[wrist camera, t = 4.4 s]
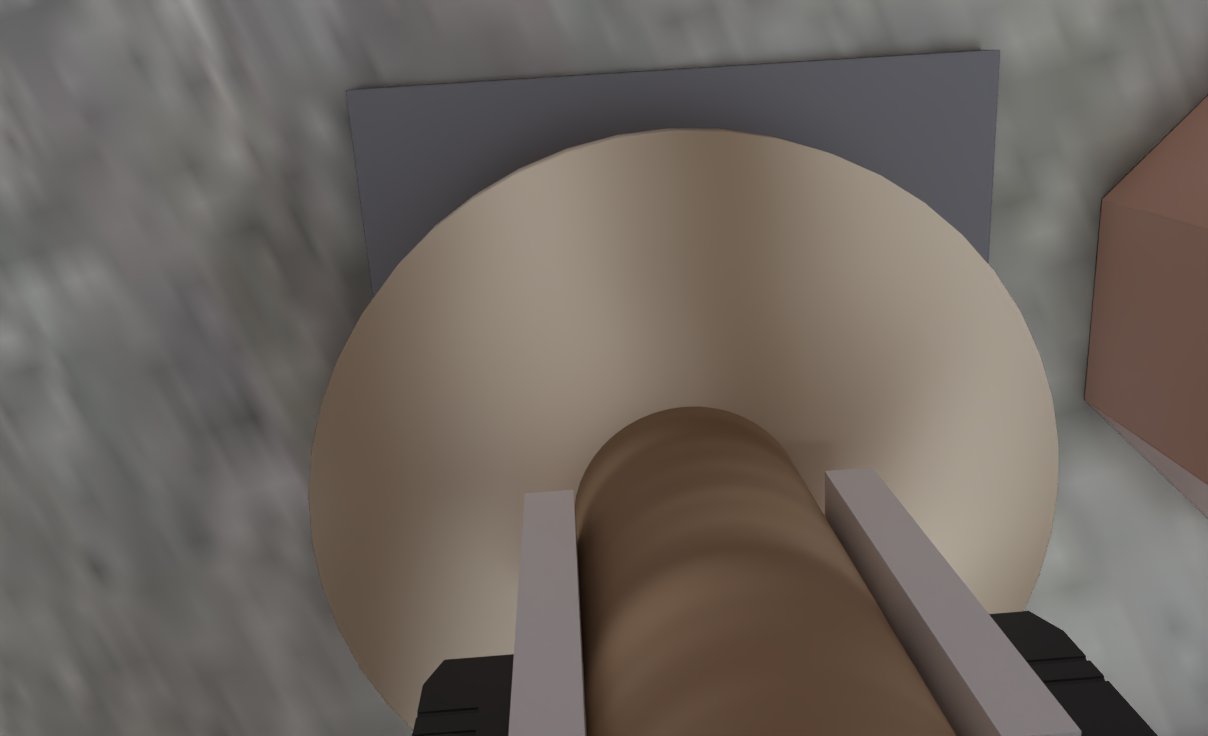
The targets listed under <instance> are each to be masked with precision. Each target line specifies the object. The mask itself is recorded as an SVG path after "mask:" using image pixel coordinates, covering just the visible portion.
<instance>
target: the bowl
mask: <svg viewBox="0 0 1208 736" xmlns="http://www.w3.org/2000/svg"><path fill="white" fill-rule="evenodd" d="M1084 400H1085V401H1086V402H1087V403H1088V404H1089V405H1091V406H1092V407H1093V408H1094V409H1095V410H1096V411H1097V412H1098V413H1099V414H1100V415H1101V416H1102V417H1103V418H1104V419H1105V420H1106V421H1107V422H1108V423H1109V424H1110V425H1111V426H1112V427H1113V428H1114V429H1115V430H1116V431H1117V432H1119V433H1120V434H1121V435H1122V436H1123V437H1124V438H1125V439H1126V440H1127V441H1128V442H1129V443H1130V444H1131V445H1132V446H1133V447H1134V448H1135V449H1136V450H1137V451H1138V452H1139V453H1140V454H1141V455H1142V456H1143V457H1144V458H1146V459H1147V460H1148V461H1149V462H1150V463H1151V464H1152V465H1153V466H1154V467H1155V468H1156V469H1157V470H1158V471H1159V472H1160V473H1161V474H1162V475H1163V476H1164V477H1165V478H1166V479H1167V480H1168V481H1169V482H1170V483H1171V484H1173V485H1174V486H1175V487H1176V488H1177V489H1178V490H1179V491H1180V492H1181V493H1182V494H1183V495H1184V496H1185V497H1186V498H1187V499H1188V500H1189V501H1190V502H1191V503H1192V504H1193V505H1194V506H1195V507H1196V508H1197V509H1198V510H1199V511H1201V512H1202V513H1203V514H1204V515H1205V516H1206V517H1207V518H1208V96H1207V97H1206V98H1205V99H1204V100H1203V101H1202V102H1201V103H1200V104H1199V105H1198V106H1197V107H1196V108H1195V109H1194V110H1193V111H1192V112H1191V113H1190V114H1189V115H1188V116H1187V117H1186V118H1185V119H1183V120H1182V121H1181V122H1180V123H1179V124H1178V125H1177V126H1176V127H1175V128H1174V129H1173V130H1172V131H1171V132H1170V133H1169V134H1168V135H1167V136H1166V137H1165V138H1164V139H1163V140H1162V141H1161V142H1160V143H1159V144H1158V145H1157V146H1156V147H1155V148H1154V149H1153V150H1152V151H1151V152H1150V153H1149V154H1148V155H1147V156H1146V157H1145V158H1144V159H1143V160H1142V161H1141V162H1140V163H1139V164H1138V165H1137V166H1136V167H1135V168H1134V169H1133V170H1132V171H1131V172H1130V173H1129V174H1128V175H1126V176H1125V177H1124V178H1123V179H1122V180H1121V181H1120V182H1119V183H1118V184H1117V185H1116V186H1115V187H1114V188H1113V189H1112V190H1111V191H1110V192H1109V193H1108V194H1107V195H1106V196H1105V197H1104V198H1103V199H1102V208H1101V219H1100V230H1099V242H1098V253H1097V264H1096V276H1095V287H1094V298H1093V310H1092V321H1091V332H1090V344H1089V355H1088V366H1087V378H1086V389H1085V399H1084Z"/></svg>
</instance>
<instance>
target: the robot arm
mask: <svg viewBox="0 0 1208 736" xmlns="http://www.w3.org/2000/svg"><path fill="white" fill-rule="evenodd" d="M825 517H826V519H827V521H828V522H829V524H830V526H831V527H832V529H833V531H834V532H835V534H836V536H837V537H838V539H839V541H840V542H841V544H842V546H843V547H844V549H845V551H846V552H847V554H848V556H849V557H850V559H851V561H852V562H853V564H854V566H855V567H856V569H857V571H858V572H859V574H860V576H861V577H862V579H863V581H864V582H865V584H866V586H867V587H868V589H869V591H870V592H871V594H872V596H873V597H874V599H875V601H876V602H877V604H878V606H879V607H880V609H881V611H882V612H883V614H884V616H885V617H886V619H887V621H888V622H889V624H890V626H891V627H892V629H893V630H894V632H895V634H896V635H897V637H898V639H899V640H900V642H901V644H902V645H903V647H904V649H905V650H906V652H907V654H908V655H909V657H910V659H911V660H912V662H913V664H914V665H915V667H916V669H917V670H918V672H919V674H920V675H921V677H922V679H923V680H924V682H925V684H926V685H927V687H928V689H929V690H930V692H931V694H932V695H933V697H934V699H935V700H936V702H937V704H938V705H939V707H940V709H941V710H942V712H943V714H944V715H945V717H946V719H947V720H948V722H949V724H950V725H951V727H952V729H953V730H954V732H955V734H956V735H957V736H1157V734H1156V733H1155V732H1154V731H1153V730H1152V729H1151V728H1150V727H1149V726H1148V724H1147V723H1146V722H1145V721H1144V720H1143V719H1142V718H1141V717H1140V716H1139V714H1138V713H1137V712H1136V711H1135V710H1134V709H1133V708H1132V707H1131V706H1130V704H1129V703H1128V702H1127V701H1126V700H1125V699H1124V698H1123V697H1122V696H1121V694H1120V693H1119V692H1118V691H1117V690H1116V689H1115V688H1114V687H1113V686H1112V684H1111V683H1110V682H1109V681H1105V680H1104V676H1103V674H1102V673H1101V672H1100V671H1099V670H1098V669H1097V668H1096V667H1095V666H1094V664H1093V663H1092V662H1091V661H1087V660H1086V656H1085V654H1084V653H1083V652H1082V651H1081V650H1080V649H1079V648H1078V647H1077V646H1076V644H1075V643H1074V642H1073V641H1072V640H1071V639H1070V638H1069V637H1068V636H1067V634H1066V633H1065V632H1064V631H1063V630H1061V629H1059V628H1057V627H1056V626H1054V625H1052V624H1050V623H1049V622H1047V621H1045V620H1043V619H1042V618H1040V617H1038V616H1036V615H1035V614H1033V613H1031V612H1030V611H1021V612H1008V613H996V614H988V612H987V611H986V610H985V609H984V607H983V606H982V605H981V604H980V602H979V601H978V600H977V599H976V597H975V596H974V595H973V594H972V592H971V591H970V590H969V588H968V587H967V586H966V585H965V583H964V582H963V581H962V580H961V578H960V577H959V576H958V575H957V573H956V572H955V571H954V570H953V568H952V567H951V566H950V564H949V563H948V562H947V561H946V559H945V558H944V557H943V556H942V554H941V553H940V552H939V551H938V549H937V548H936V547H935V546H934V544H933V543H932V542H931V540H930V539H929V538H928V537H927V535H926V534H925V533H924V532H923V530H922V529H921V528H920V527H919V525H918V524H917V523H916V522H915V520H914V519H913V518H912V516H911V515H910V514H909V513H908V511H907V510H906V509H905V508H904V506H903V505H902V504H901V503H900V501H899V500H898V499H897V498H896V496H895V495H894V494H893V492H892V491H891V490H890V489H889V487H888V486H887V485H886V484H885V482H884V481H883V480H882V479H881V477H880V476H879V475H878V474H877V472H876V471H875V470H874V468H860V469H847V470H833V471H825ZM412 736H587V726H586V706H585V686H584V666H583V646H582V626H581V606H580V586H579V566H578V546H577V532H576V518H575V505H574V491H573V490H564V491H550V492H537V493H525V496H524V511H523V526H522V541H521V555H520V570H519V585H518V600H517V615H516V630H515V644H514V654H510V655H498V656H485V657H472V658H459V659H447V660H444V661H443V662H442V663H441V664H440V665H439V666H438V668H437V669H436V670H435V671H434V672H433V673H432V675H431V676H430V677H429V678H428V679H427V681H426V682H425V683H424V684H423V687H422V692H421V696H420V701H419V706H418V711H417V718H416V720H415V725H414V730H413V734H412Z"/></svg>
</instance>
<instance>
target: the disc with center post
mask: <svg viewBox="0 0 1208 736" xmlns="http://www.w3.org/2000/svg"><path fill="white" fill-rule="evenodd" d="M860 468H874V470H875V471H876V472H877V474H878V475H879V476H880V477H881V479H882V480H883V481H884V482H885V484H886V485H887V486H888V487H889V489H890V490H891V491H892V492H893V494H894V495H895V496H896V498H897V499H898V500H899V501H900V503H901V504H902V505H903V506H904V508H905V509H906V510H907V511H908V513H909V514H910V515H911V516H912V518H913V519H914V520H915V522H916V523H917V524H918V525H919V527H920V528H921V529H922V530H923V532H924V533H925V534H926V535H927V537H928V538H929V539H930V540H931V542H932V543H933V544H934V546H935V547H936V548H937V549H938V551H939V552H940V553H941V554H942V556H943V557H944V558H945V559H946V561H947V562H948V563H949V564H950V566H951V567H952V568H953V570H954V571H955V572H956V573H957V575H958V576H959V577H960V578H961V580H962V581H963V582H964V583H965V585H966V586H967V587H968V588H969V590H970V591H971V592H972V594H973V595H974V596H975V597H976V599H977V600H978V601H979V602H980V604H981V605H982V606H983V607H984V609H985V610H986V611H987V612H988V614H996V613H1008V612H1021V611H1024V609H1025V607H1026V605H1027V603H1028V600H1029V598H1030V596H1031V593H1032V591H1033V589H1034V586H1035V584H1036V582H1037V579H1038V577H1039V575H1040V571H1041V568H1042V564H1043V561H1044V557H1045V554H1046V550H1047V547H1048V543H1049V540H1050V536H1051V533H1052V527H1053V520H1054V513H1055V506H1056V499H1057V493H1058V436H1057V429H1056V421H1055V414H1054V407H1053V399H1052V395H1051V392H1050V388H1049V385H1048V381H1047V378H1046V374H1045V371H1044V367H1043V364H1042V360H1041V357H1040V354H1039V351H1038V349H1037V347H1036V345H1035V343H1034V340H1033V338H1032V336H1031V334H1030V332H1029V329H1028V327H1027V325H1026V323H1025V320H1024V318H1023V316H1022V314H1021V312H1020V310H1019V308H1018V307H1017V305H1016V304H1015V302H1014V301H1013V299H1012V298H1011V296H1010V295H1009V293H1008V291H1007V290H1006V288H1005V287H1004V285H1003V284H1002V282H1001V281H1000V279H999V278H998V276H997V274H996V273H995V271H994V270H993V269H992V268H991V267H990V266H989V265H988V263H987V262H986V261H985V260H984V259H983V258H982V257H981V255H980V254H979V253H978V252H977V251H976V250H975V249H974V247H973V246H972V245H971V244H970V243H969V242H968V241H967V239H966V238H965V237H964V236H963V235H962V234H961V233H960V232H959V231H957V230H956V229H955V228H954V227H953V226H951V225H950V224H949V223H948V222H947V221H946V220H944V219H943V218H942V217H941V216H940V215H938V214H937V213H936V212H935V211H934V210H933V209H931V208H930V207H929V206H928V205H927V204H926V203H924V202H923V201H921V200H920V199H918V198H916V197H915V196H913V195H912V194H910V193H908V192H907V191H905V190H904V189H902V188H900V187H899V186H897V185H896V184H894V183H892V182H891V181H889V180H888V179H886V178H884V177H883V176H881V175H879V174H877V173H874V172H872V171H870V170H868V169H865V168H863V167H861V166H859V165H856V164H854V163H852V162H850V161H847V160H845V159H843V158H841V157H838V156H836V155H834V154H831V153H828V152H824V151H821V150H818V149H815V148H811V147H808V146H804V145H801V144H797V143H794V142H790V141H787V140H783V139H780V138H776V137H773V136H768V135H761V134H754V133H747V132H740V131H733V130H726V129H700V128H667V129H659V130H652V131H644V132H636V133H629V134H621V135H615V136H611V137H608V138H604V139H600V140H597V141H593V142H589V143H585V144H582V145H578V146H574V147H571V148H567V149H564V150H562V151H560V152H557V153H555V154H553V155H550V156H548V157H545V158H543V159H541V160H538V161H536V162H533V163H531V164H529V165H526V166H524V167H522V168H519V169H517V170H516V171H514V172H512V173H511V174H509V175H507V176H506V177H504V178H502V179H500V180H499V181H497V182H495V183H494V184H492V185H490V186H489V187H487V188H485V189H483V190H482V191H480V192H478V193H477V194H475V195H474V196H472V197H471V198H470V199H469V200H467V201H466V202H465V203H463V204H462V205H461V206H460V207H458V208H457V209H456V210H455V211H453V212H452V213H451V214H449V215H448V216H447V217H446V218H444V219H443V220H442V221H441V222H439V223H438V224H437V225H435V226H434V228H433V229H432V230H431V231H430V232H429V233H428V234H427V235H426V236H425V237H424V238H423V239H422V240H421V241H420V242H419V243H418V244H417V245H416V246H415V247H414V248H413V249H412V250H411V251H410V252H409V253H408V254H407V255H406V256H405V257H404V259H403V260H402V261H401V262H400V263H399V264H398V266H397V267H396V268H395V269H394V271H393V272H392V273H391V275H390V276H389V277H388V279H387V280H386V282H385V283H384V284H383V286H382V287H381V288H380V290H379V291H378V293H377V294H376V295H375V297H374V298H373V299H372V301H371V302H370V303H369V305H368V306H367V308H366V309H365V310H364V312H363V313H362V314H361V316H360V318H359V320H358V322H357V324H356V326H355V327H354V329H353V331H352V333H351V335H350V337H349V339H348V341H347V342H346V344H345V346H344V348H343V350H342V352H341V354H340V356H339V357H338V360H337V362H336V365H335V368H334V371H333V373H332V376H331V379H330V382H329V384H328V387H327V390H326V393H325V395H324V398H323V401H322V404H321V408H320V412H319V417H318V422H317V427H316V432H315V436H314V441H313V446H312V451H311V466H310V482H309V510H310V522H311V534H312V544H313V549H314V553H315V557H316V562H317V566H318V570H319V575H320V579H321V583H322V588H323V590H324V593H325V595H326V598H327V601H328V603H329V606H330V608H331V611H332V614H333V616H334V619H335V621H336V624H337V626H338V629H339V631H340V633H341V634H342V636H343V638H344V640H345V642H346V643H347V645H348V647H349V649H350V651H351V652H352V654H353V656H354V658H355V660H356V661H357V663H358V665H359V667H360V668H361V670H362V671H363V672H364V674H365V675H366V676H367V678H368V679H369V680H370V682H371V683H372V684H373V686H374V687H375V688H376V690H377V691H378V692H379V694H380V695H381V696H382V698H383V699H384V700H385V702H386V703H387V704H388V705H389V706H390V707H391V708H392V709H393V710H394V711H395V712H396V713H397V714H398V715H399V716H400V717H401V718H402V719H403V720H404V721H405V722H406V723H407V724H408V725H409V726H410V727H411V728H412V729H413V730H414V725H415V720H416V718H417V711H418V706H419V701H420V696H421V692H422V687H423V684H424V683H425V682H426V681H427V679H428V678H429V677H430V676H431V675H432V673H433V672H434V671H435V670H436V669H437V668H438V666H439V665H440V664H441V663H442V662H443V661H444V660H447V659H459V658H472V657H485V656H498V655H510V654H514V644H515V630H516V615H517V600H518V585H519V570H520V555H521V541H522V526H523V511H524V496H525V493H537V492H550V491H564V490H573V491H574V505H575V518H576V532H577V546H578V566H579V586H580V606H581V626H582V646H583V666H584V686H585V706H586V726H587V736H957V735H956V734H955V732H954V730H953V729H952V727H951V725H950V724H949V722H948V720H947V719H946V717H945V715H944V714H943V712H942V710H941V709H940V707H939V705H938V704H937V702H936V700H935V699H934V697H933V695H932V694H931V692H930V690H929V689H928V687H927V685H926V684H925V682H924V680H923V679H922V677H921V675H920V674H919V672H918V670H917V669H916V667H915V665H914V664H913V662H912V660H911V659H910V657H909V655H908V654H907V652H906V650H905V649H904V647H903V645H902V644H901V642H900V640H899V639H898V637H897V635H896V634H895V632H894V630H893V629H892V627H891V626H890V624H889V622H888V621H887V619H886V617H885V616H884V614H883V612H882V611H881V609H880V607H879V606H878V604H877V602H876V601H875V599H874V597H873V596H872V594H871V592H870V591H869V589H868V587H867V586H866V584H865V582H864V581H863V579H862V577H861V576H860V574H859V572H858V571H857V569H856V567H855V566H854V564H853V562H852V561H851V559H850V557H849V556H848V554H847V552H846V551H845V549H844V547H843V546H842V544H841V542H840V541H839V539H838V537H837V536H836V534H835V532H834V531H833V529H832V527H831V526H830V524H829V522H828V521H827V519H826V517H825V471H833V470H847V469H860Z"/></svg>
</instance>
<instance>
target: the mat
mask: <svg viewBox="0 0 1208 736" xmlns="http://www.w3.org/2000/svg"><path fill="white" fill-rule="evenodd" d="M999 62H1000V50H974V51H958V52H941V53H925V54H909V55H893V56H877V57H861V58H845V59H829V60H813V61H797V62H781V63H764V64H748V65H732V66H716V67H700V68H684V69H668V70H652V71H636V72H620V73H604V74H587V75H571V76H555V77H539V78H523V79H507V80H491V81H475V82H459V83H443V84H427V85H410V86H394V87H378V88H362V89H352V90H346V95H347V103H348V111H349V118H350V126H351V134H352V141H353V149H354V156H355V164H356V172H357V179H358V187H359V195H360V202H361V210H362V218H363V225H364V233H365V240H366V248H367V256H368V263H369V271H370V279H371V286H372V294H373V298H374V297H375V295H376V294H377V293H378V291H379V290H380V288H381V287H382V286H383V284H384V283H385V282H386V280H387V279H388V277H389V276H390V275H391V273H392V272H393V271H394V269H395V268H396V267H397V266H398V264H399V263H400V262H401V261H402V260H403V259H404V257H405V256H406V255H407V254H408V253H409V252H410V251H411V250H412V249H413V248H414V247H415V246H416V245H417V244H418V243H419V242H420V241H421V240H422V239H423V238H424V237H425V236H426V235H427V234H428V233H429V232H430V231H431V230H432V229H433V228H434V226H435V225H437V224H438V223H439V222H441V221H442V220H443V219H444V218H446V217H447V216H448V215H449V214H451V213H452V212H453V211H455V210H456V209H457V208H458V207H460V206H461V205H462V204H463V203H465V202H466V201H467V200H469V199H470V198H471V197H472V196H474V195H475V194H477V193H478V192H480V191H482V190H483V189H485V188H487V187H489V186H490V185H492V184H494V183H495V182H497V181H499V180H500V179H502V178H504V177H506V176H507V175H509V174H511V173H512V172H514V171H516V170H517V169H519V168H522V167H524V166H526V165H529V164H531V163H533V162H536V161H538V160H541V159H543V158H545V157H548V156H550V155H553V154H555V153H557V152H560V151H562V150H564V149H567V148H571V147H574V146H578V145H582V144H585V143H589V142H593V141H597V140H600V139H604V138H608V137H611V136H615V135H621V134H629V133H636V132H644V131H652V130H659V129H667V128H700V129H726V130H733V131H740V132H747V133H754V134H761V135H768V136H773V137H776V138H780V139H783V140H787V141H790V142H794V143H797V144H801V145H804V146H808V147H811V148H815V149H818V150H821V151H824V152H828V153H831V154H834V155H836V156H838V157H841V158H843V159H845V160H847V161H850V162H852V163H854V164H856V165H859V166H861V167H863V168H865V169H868V170H870V171H872V172H874V173H877V174H879V175H881V176H883V177H884V178H886V179H888V180H889V181H891V182H892V183H894V184H896V185H897V186H899V187H900V188H902V189H904V190H905V191H907V192H908V193H910V194H912V195H913V196H915V197H916V198H918V199H920V200H921V201H923V202H924V203H926V204H927V205H928V206H929V207H930V208H931V209H933V210H934V211H935V212H936V213H937V214H938V215H940V216H941V217H942V218H943V219H944V220H946V221H947V222H948V223H949V224H950V225H951V226H953V227H954V228H955V229H956V230H957V231H959V232H960V233H961V234H962V235H963V236H964V237H965V238H966V239H967V241H968V242H969V243H970V244H971V245H972V246H973V247H974V249H975V250H976V251H977V252H978V253H979V254H980V255H981V257H982V258H983V259H984V260H985V261H986V262H987V263H988V260H989V242H990V224H991V206H992V188H993V170H994V152H995V134H996V116H997V98H998V80H999Z"/></svg>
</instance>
